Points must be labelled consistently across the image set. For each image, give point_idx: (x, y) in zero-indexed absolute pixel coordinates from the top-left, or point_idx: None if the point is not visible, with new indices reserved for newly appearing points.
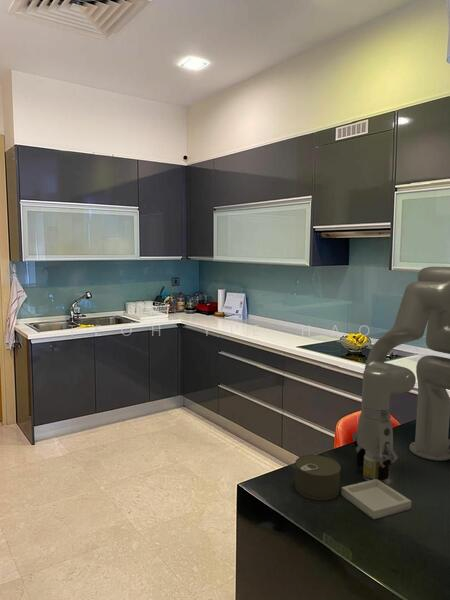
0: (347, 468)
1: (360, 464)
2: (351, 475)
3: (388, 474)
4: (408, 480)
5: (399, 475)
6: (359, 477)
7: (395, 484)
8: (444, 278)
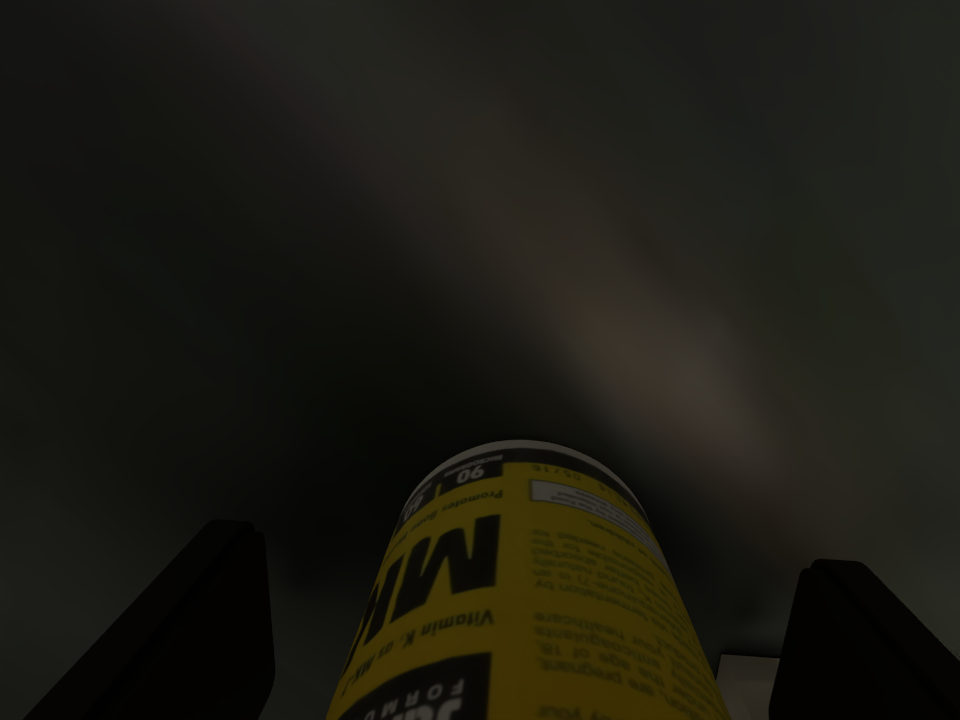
0: None
1: (259, 677)
2: None
3: (913, 619)
4: (917, 18)
5: (682, 24)
6: None
7: (854, 376)
8: None
